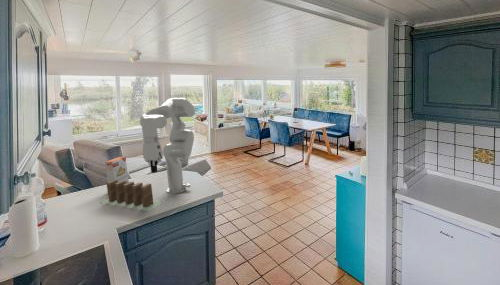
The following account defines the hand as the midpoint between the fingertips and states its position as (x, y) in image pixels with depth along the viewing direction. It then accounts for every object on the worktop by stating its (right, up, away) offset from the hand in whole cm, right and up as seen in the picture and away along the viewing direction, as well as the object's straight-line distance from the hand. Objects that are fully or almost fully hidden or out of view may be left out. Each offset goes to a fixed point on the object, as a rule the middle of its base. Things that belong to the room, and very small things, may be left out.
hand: (154, 172), depth 154 cm
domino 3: (-18, -19, +12) cm, 29 cm away
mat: (-18, -20, +12) cm, 29 cm away
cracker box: (-37, -16, +38) cm, 55 cm away
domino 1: (-30, -19, +17) cm, 39 cm away
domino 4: (-12, -20, +9) cm, 25 cm away
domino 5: (-6, -20, +7) cm, 22 cm away
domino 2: (-24, -19, +14) cm, 34 cm away
